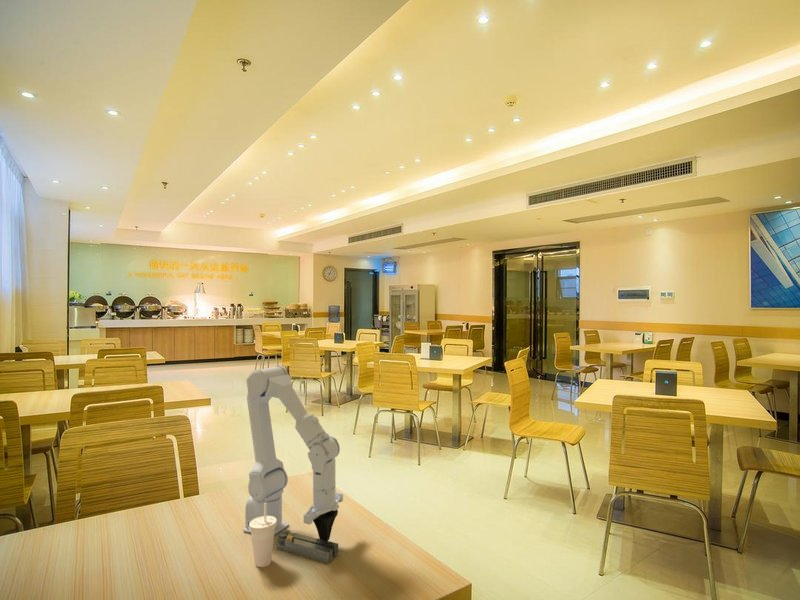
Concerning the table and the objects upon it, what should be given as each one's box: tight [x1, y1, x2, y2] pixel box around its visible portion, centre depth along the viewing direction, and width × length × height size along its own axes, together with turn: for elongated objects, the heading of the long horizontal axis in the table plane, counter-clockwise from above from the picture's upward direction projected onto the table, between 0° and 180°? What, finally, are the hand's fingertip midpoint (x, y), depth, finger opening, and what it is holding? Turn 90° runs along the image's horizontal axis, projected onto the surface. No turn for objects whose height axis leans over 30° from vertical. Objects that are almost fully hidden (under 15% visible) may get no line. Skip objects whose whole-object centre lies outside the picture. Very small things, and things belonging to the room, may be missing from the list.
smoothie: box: [249, 503, 277, 568], centre depth 105 cm, size 6×6×14 cm
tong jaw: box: [278, 529, 339, 559], centre depth 111 cm, size 17×3×3 cm, turn 66°
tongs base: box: [276, 535, 334, 565], centre depth 110 cm, size 17×5×4 cm, turn 65°
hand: (324, 540), depth 114 cm, fingers closed
